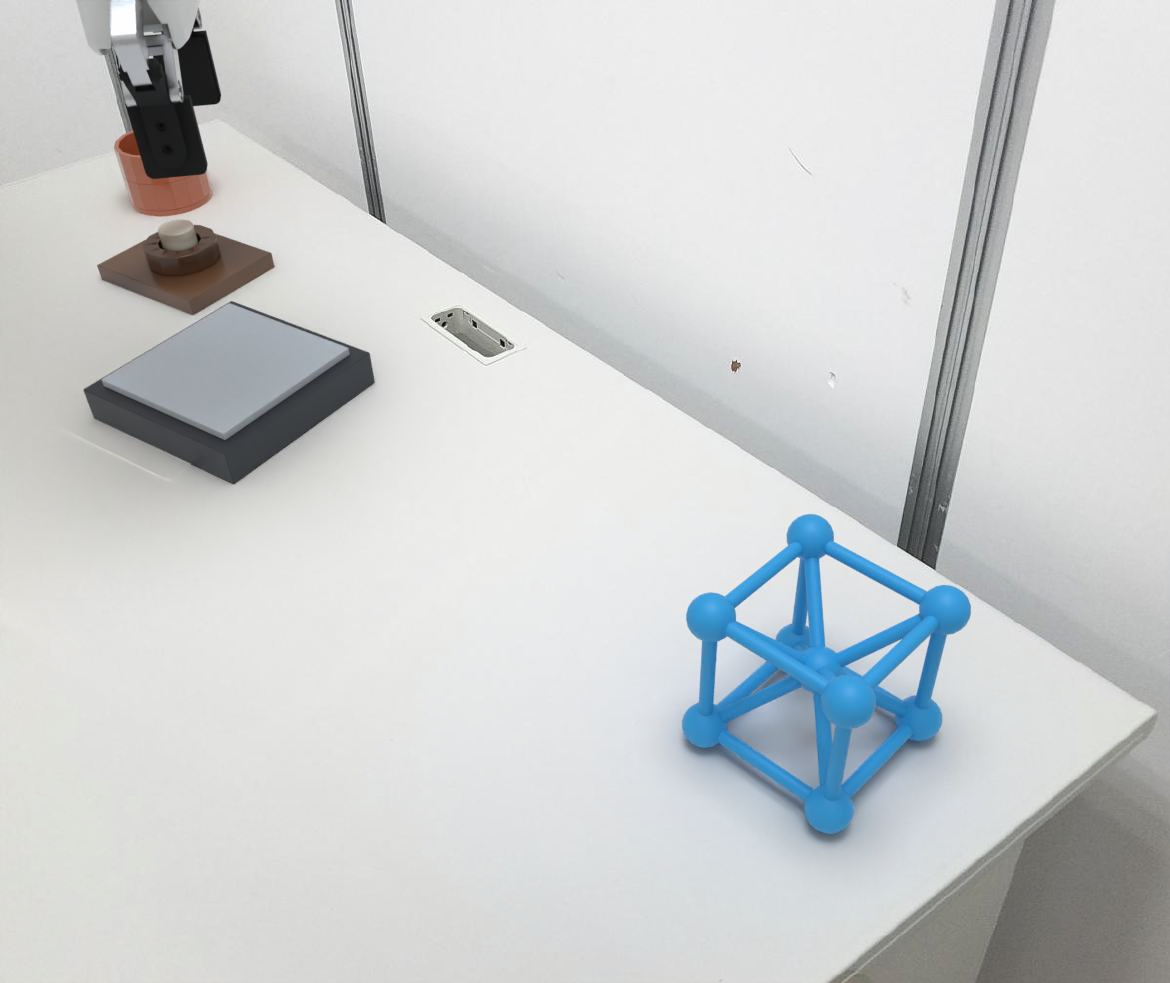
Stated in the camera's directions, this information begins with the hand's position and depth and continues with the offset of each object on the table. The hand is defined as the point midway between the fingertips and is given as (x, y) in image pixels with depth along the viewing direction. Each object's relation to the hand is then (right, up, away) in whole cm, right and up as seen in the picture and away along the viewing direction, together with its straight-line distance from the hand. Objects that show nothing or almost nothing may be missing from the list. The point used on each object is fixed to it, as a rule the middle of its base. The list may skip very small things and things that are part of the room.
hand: (187, 137), depth 68 cm
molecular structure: (+34, -33, -6) cm, 48 cm away
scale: (-2, -12, +18) cm, 22 cm away
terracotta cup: (-15, +10, +42) cm, 46 cm away
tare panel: (-10, +1, +32) cm, 34 cm away
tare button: (-11, +2, +30) cm, 32 cm away
